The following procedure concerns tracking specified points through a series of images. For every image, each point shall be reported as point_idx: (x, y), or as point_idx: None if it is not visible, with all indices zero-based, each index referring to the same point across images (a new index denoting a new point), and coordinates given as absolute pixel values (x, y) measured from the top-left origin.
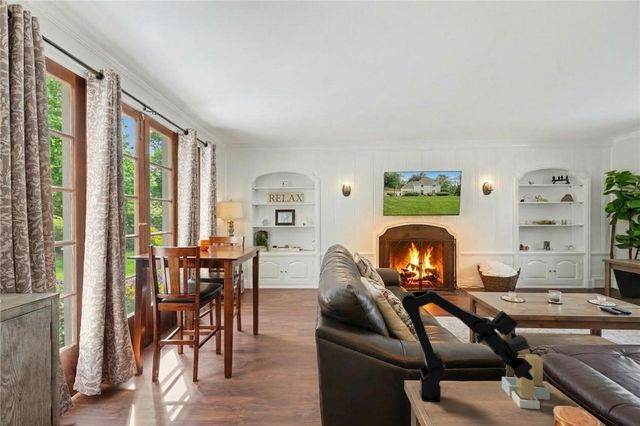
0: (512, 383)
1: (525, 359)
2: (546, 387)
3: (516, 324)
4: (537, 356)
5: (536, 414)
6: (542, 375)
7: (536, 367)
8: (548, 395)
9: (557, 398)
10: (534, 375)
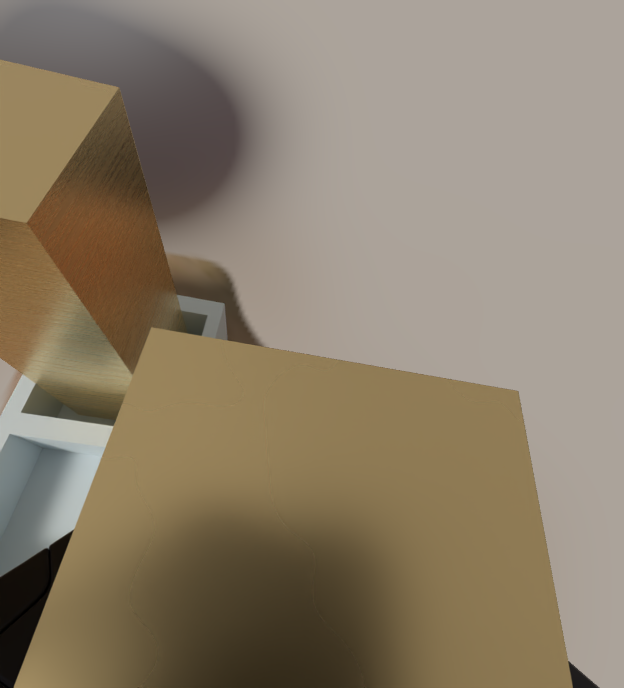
0: (1, 520)
1: (310, 552)
2: (205, 311)
3: None
4: None
5: None
6: (169, 271)
7: (127, 263)
8: (225, 335)
9: (211, 289)
10: (145, 340)
